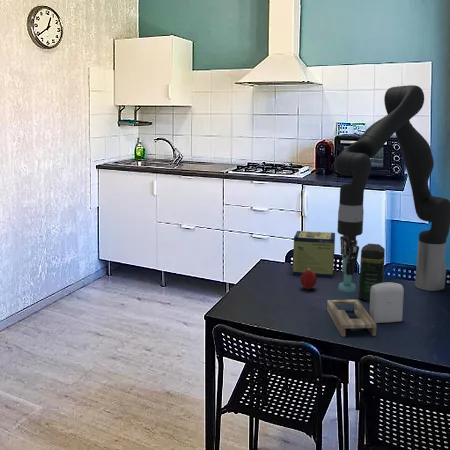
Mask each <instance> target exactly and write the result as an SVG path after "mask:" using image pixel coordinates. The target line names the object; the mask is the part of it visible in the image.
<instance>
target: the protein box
mask: <svg viewBox="0 0 450 450" xmlns="http://www.w3.org/2000/svg"><path fill="white" fill-rule="evenodd" d="M335 244H336V232H328V231H327V232H323V231H322V232H321V231H307V230H298V231H296V232H295V235H294V237H293V251H292V252H293V253H292V254H293V257H292V258H293V259H292V260H293V261H292V275H293V276H300V277H301V275H302V274H303V273H304V272H305V271H307V268H310V270H311V271H312V272H313V273H314V274H315V275H316V278H329V279H332V278H333V275H334V267H335V266H334V265H335V250H336V249H335V248H336V247H335V246H336V245H335Z"/></svg>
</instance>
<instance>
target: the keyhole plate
mask: <svg viewBox="0 0 450 450" xmlns="http://www.w3.org/2000/svg"><path fill="white" fill-rule="evenodd" d="M326 303H327V305H326V311H327V313H328V315H329V316H330V318H331V320H332V322H333V324H334V325H335V327H336V328H337V332H339V334H340V336H341V337H346V329H367V330H368V332H369V333H370V334H371V336H373V337H374V336H375V337H376V336H377V324H378V323H375V322H374V320H373V319H372V318H371V316H370V315H369V312H368V311H367V310H366V309H365V307H364V306H363V304H362V303H361V302H360V301H359V299H327V301H326ZM336 305H354V311H353V312H354V315H355V316H356V317H357V318H350V317H349V315H348V314H347V312H346V311H345V309H338V307H337V306H336Z"/></svg>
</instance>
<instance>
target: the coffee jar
mask: <svg viewBox="0 0 450 450" xmlns="http://www.w3.org/2000/svg"><path fill="white" fill-rule="evenodd" d="M385 251H386V250H385V247H383V246H382V245H381V244H379V243H378V244H377V243H367V244H365V245H363V247H362V248H361V250H360V265H359V281H358V298H359V299H360V300H363V301H366V302H370V289H371V286H373V285H376V284H379V283H384V275H385V274H384V272H385V257H386V256H385Z"/></svg>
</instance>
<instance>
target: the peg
mask: <svg viewBox="0 0 450 450" xmlns="http://www.w3.org/2000/svg"><path fill="white" fill-rule="evenodd" d="M351 259H353V257H351ZM341 262H342V263H341V264H342V266H341V272H342V273H343V281H342V282H340V283H338V291H340V292H343V293H354V292H355V291H356V290H357V289H356V288H357V286H356V283H354V282H352V278H353V277H352V276H353V275H347V274H346V257H344V258H342V261H341Z"/></svg>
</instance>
